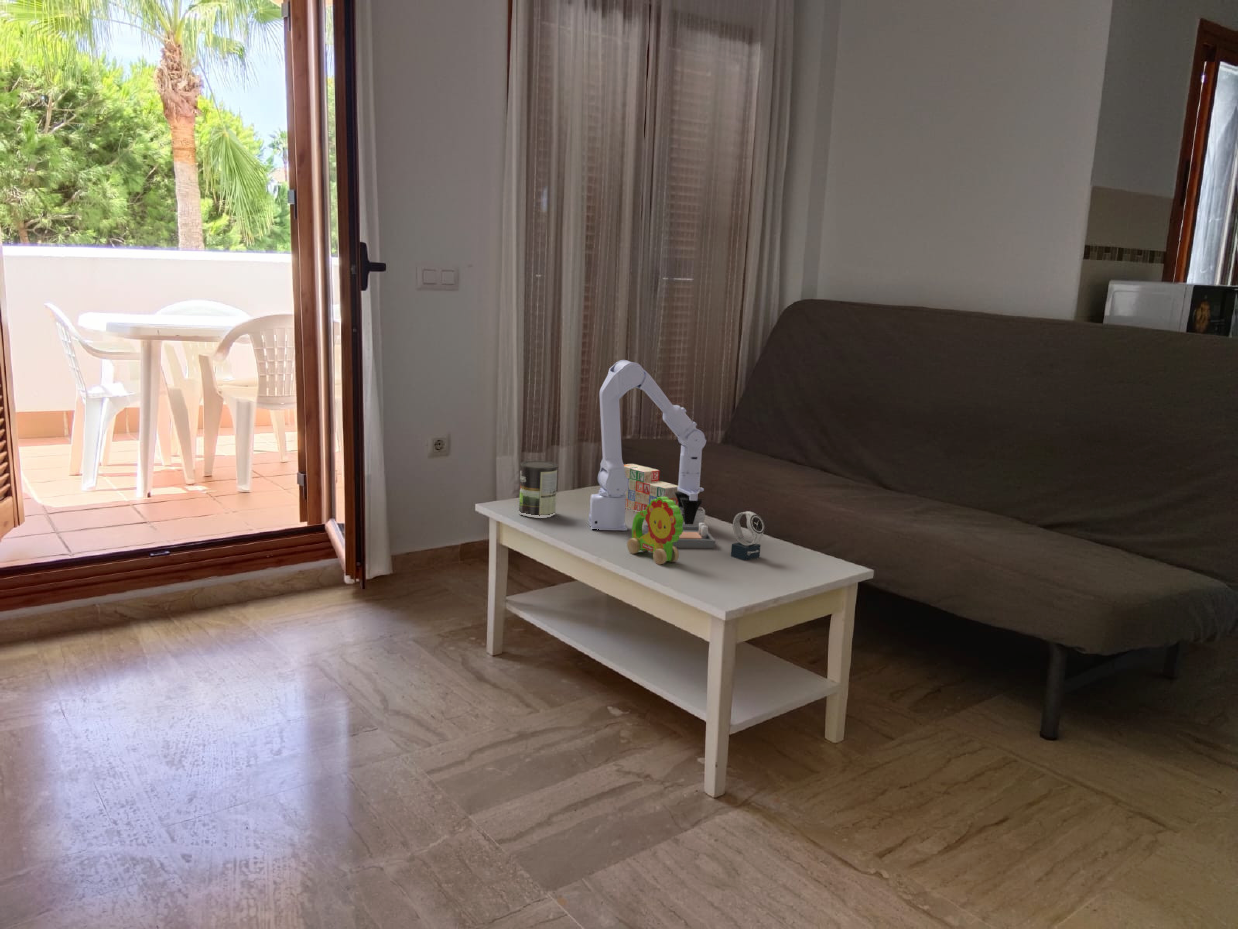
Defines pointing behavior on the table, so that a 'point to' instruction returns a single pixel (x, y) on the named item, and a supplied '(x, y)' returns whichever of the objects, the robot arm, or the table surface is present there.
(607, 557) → the table surface
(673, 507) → the toy lion
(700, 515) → the drive
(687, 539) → the tray
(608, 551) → the table surface
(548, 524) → the table surface
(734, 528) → the watch
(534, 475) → the coffee can
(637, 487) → the stack of blocks
